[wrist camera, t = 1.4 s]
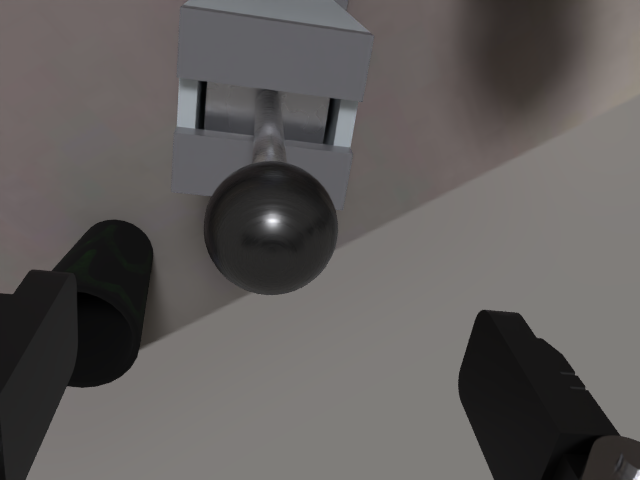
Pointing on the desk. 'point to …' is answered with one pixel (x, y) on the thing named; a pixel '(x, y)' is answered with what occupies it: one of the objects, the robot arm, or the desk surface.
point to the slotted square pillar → (268, 83)
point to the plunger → (269, 192)
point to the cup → (108, 299)
